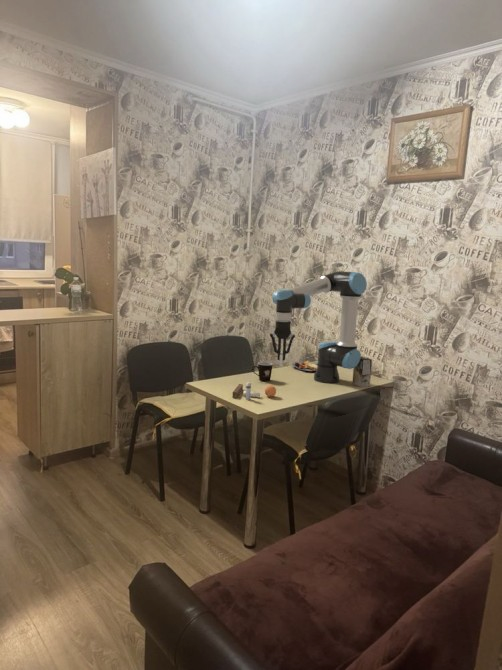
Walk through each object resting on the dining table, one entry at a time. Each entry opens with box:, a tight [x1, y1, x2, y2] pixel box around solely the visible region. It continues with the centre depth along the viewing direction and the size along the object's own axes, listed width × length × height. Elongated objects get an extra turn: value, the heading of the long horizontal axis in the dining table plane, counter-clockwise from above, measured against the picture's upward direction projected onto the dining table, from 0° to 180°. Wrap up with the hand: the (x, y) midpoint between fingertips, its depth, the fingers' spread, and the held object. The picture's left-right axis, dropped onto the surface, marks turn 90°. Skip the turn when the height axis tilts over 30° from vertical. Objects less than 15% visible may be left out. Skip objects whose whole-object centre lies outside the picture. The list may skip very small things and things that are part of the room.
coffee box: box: [352, 355, 373, 388], centre depth 268 cm, size 9×6×16 cm
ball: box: [264, 384, 277, 398], centre depth 239 cm, size 6×6×6 cm
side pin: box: [245, 381, 252, 401], centre depth 233 cm, size 2×2×8 cm
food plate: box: [291, 359, 318, 372], centre depth 306 cm, size 25×23×4 cm
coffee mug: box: [251, 361, 274, 383], centre depth 271 cm, size 12×9×10 cm
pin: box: [242, 390, 261, 399], centre depth 239 cm, size 2×2×8 cm
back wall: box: [232, 383, 244, 399], centre depth 243 cm, size 2×16×3 cm, turn 170°
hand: (280, 366), depth 236 cm, fingers closed
